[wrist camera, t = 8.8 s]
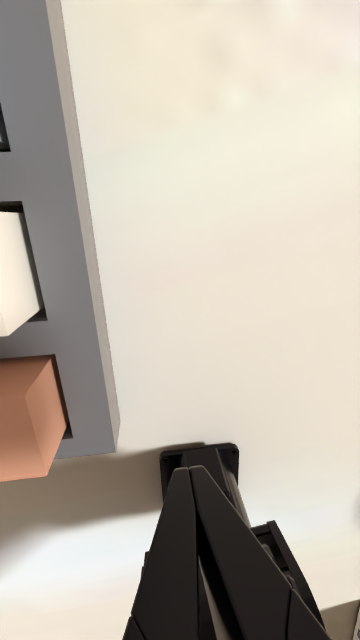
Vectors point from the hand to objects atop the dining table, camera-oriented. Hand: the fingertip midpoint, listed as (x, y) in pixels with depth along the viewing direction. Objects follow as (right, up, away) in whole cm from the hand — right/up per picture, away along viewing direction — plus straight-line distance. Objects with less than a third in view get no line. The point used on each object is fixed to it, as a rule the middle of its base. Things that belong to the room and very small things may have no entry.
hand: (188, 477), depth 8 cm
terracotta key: (-10, 0, +10) cm, 15 cm away
